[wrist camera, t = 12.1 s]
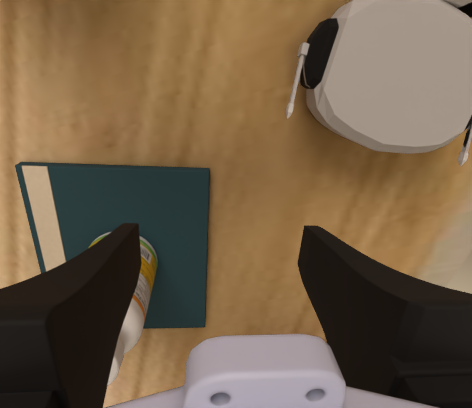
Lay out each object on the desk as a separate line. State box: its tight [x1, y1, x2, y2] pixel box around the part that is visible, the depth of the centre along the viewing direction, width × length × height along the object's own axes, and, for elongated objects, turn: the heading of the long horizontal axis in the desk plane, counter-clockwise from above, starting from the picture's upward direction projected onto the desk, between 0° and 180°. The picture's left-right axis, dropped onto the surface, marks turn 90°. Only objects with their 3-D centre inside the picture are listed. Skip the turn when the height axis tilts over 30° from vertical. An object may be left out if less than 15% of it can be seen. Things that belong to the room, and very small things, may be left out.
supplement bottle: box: [88, 232, 157, 386], centre depth 20 cm, size 5×5×10 cm
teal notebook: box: [15, 162, 210, 329], centre depth 25 cm, size 15×13×1 cm
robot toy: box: [286, 0, 472, 166], centre depth 18 cm, size 12×4×15 cm
